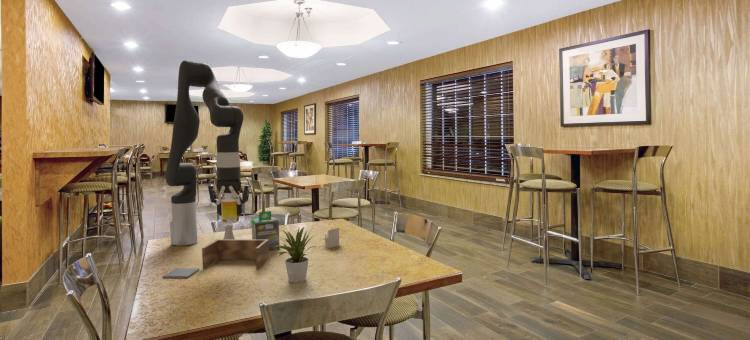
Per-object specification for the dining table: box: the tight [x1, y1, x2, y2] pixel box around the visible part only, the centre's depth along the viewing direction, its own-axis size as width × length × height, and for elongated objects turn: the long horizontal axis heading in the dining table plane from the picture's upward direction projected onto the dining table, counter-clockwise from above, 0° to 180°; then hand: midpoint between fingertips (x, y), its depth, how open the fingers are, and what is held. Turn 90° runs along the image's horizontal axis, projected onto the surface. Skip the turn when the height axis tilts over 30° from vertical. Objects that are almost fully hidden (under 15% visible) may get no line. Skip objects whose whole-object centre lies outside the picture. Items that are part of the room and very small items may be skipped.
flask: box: [222, 224, 236, 240], centre depth 166 cm, size 7×7×10 cm
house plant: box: [274, 226, 317, 283], centre depth 133 cm, size 14×14×16 cm
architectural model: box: [322, 227, 342, 249], centre depth 173 cm, size 3×7×7 cm, turn 137°
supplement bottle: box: [221, 193, 240, 225], centre depth 147 cm, size 6×6×10 cm
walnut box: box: [201, 239, 270, 270], centre depth 150 cm, size 19×12×7 cm, turn 88°
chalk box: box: [250, 210, 281, 252], centre depth 169 cm, size 9×9×15 cm
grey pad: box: [162, 267, 200, 279], centre depth 139 cm, size 8×8×1 cm
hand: (230, 215), depth 147 cm, fingers closed on supplement bottle, 5 cm apart
